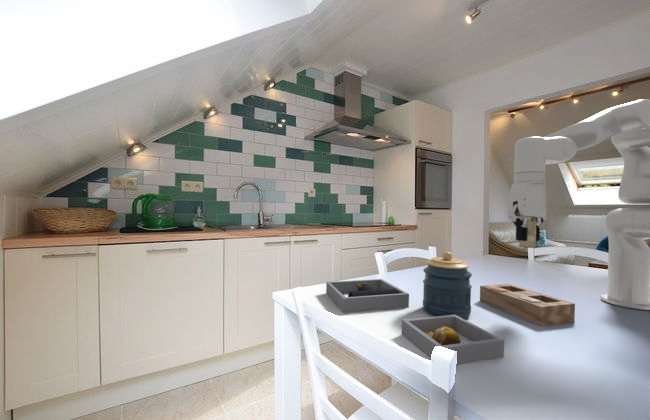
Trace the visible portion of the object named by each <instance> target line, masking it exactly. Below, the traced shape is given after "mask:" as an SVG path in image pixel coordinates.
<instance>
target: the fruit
mask: <svg viewBox="0 0 650 420" xmlns="http://www.w3.org/2000/svg"><path fill="white" fill-rule="evenodd" d="M424 333H425V334H427V335H428V336H430V337H431V338H432V339H434V340H435V341H436V342H438V343H439V344H441V345H442V346H443V345H451V344H458V343H462V342H461V338H460V336H459V333H458V332H456V331H454V330H453V329H451V328H448V327H445V326H443V327H440V328H438V329H436V330H435V331H434V333H433V332H432V331H429V332H424Z"/></svg>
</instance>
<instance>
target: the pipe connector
mask: <svg viewBox="0 0 650 420" xmlns="http://www.w3.org/2000/svg"><path fill="white" fill-rule="evenodd" d="M386 294H399V292H398V290H397V289H382V290H375V289H374V288H372V286H371V285H370V284H368V283H362V284H357V291H351V292H349V293H347V297H358V296H372V295H386Z"/></svg>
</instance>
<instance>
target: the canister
mask: <svg viewBox="0 0 650 420" xmlns="http://www.w3.org/2000/svg"><path fill="white" fill-rule="evenodd" d="M426 264H427V266H426V267H424V268H423V272H424V279H423V281H422V282H423V293H422V294H423V295H422V296H423V298H422V307H423V311H424V312H425V313H427V314H428V315H430V316H431V317H435V316H445V315H457V316H459V317H461V318H463V319H464V320H467V319H468V318H470V316H471V313H472V306H471V299H472V297H471V296H472V287H473V286H472V284H471V282H470V281H471V280H470V278H472V276H473V274H472V273H471V272H470V271H469V270H468V268H469V267H470V265H469V264H468V263H466V262H464V261H463V260H462V259H461V258H456V257H455V258H454V257H453V255H452V252H450V251H444V252H443V253H442V256H436V257H432V258H431V259H429V260H427V261H426Z"/></svg>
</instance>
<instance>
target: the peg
mask: <svg viewBox="0 0 650 420" xmlns="http://www.w3.org/2000/svg"><path fill="white" fill-rule="evenodd" d="M520 220H521V221H522V219H520ZM534 220H535V219H534ZM534 220H529V219H527V223H526V228H527V229H528V233H527V241H520V240H518V241H519V242H518V243H519V244H518V247H521V248H526V249H527V248H529V249H536V247H537V241H536V221H534Z"/></svg>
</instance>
